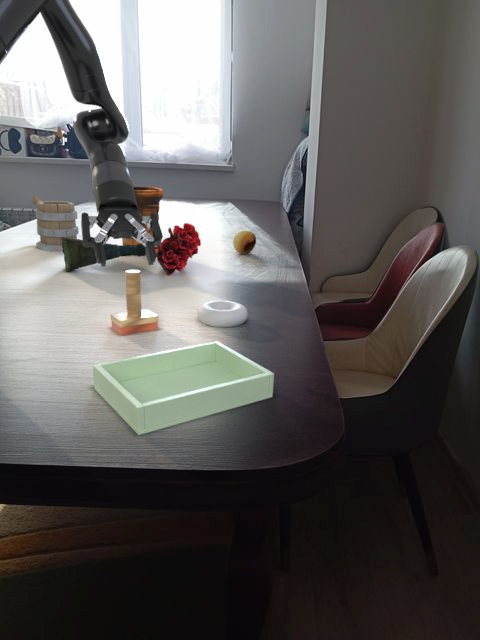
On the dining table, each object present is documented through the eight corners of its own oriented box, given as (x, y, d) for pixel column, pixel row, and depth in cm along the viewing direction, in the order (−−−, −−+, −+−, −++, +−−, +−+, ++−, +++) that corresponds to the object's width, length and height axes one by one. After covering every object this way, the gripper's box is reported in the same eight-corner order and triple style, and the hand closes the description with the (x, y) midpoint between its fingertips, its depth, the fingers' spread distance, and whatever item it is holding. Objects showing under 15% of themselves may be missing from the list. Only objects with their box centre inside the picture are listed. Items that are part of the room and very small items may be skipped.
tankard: (88, 248, 165) (84, 200, 160) (50, 252, 156) (45, 201, 151) (56, 240, 177) (52, 194, 172) (20, 243, 168) (14, 195, 163)
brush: (121, 337, 90) (118, 275, 86) (111, 329, 94) (107, 270, 90) (158, 331, 94) (157, 272, 90) (147, 324, 98) (146, 267, 94)
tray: (138, 437, 59) (137, 408, 58) (94, 390, 70) (92, 364, 69) (272, 398, 71) (274, 373, 69) (216, 363, 81) (217, 340, 80)
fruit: (256, 253, 174) (257, 229, 171) (253, 257, 166) (255, 232, 163) (234, 251, 174) (235, 227, 171) (230, 256, 166) (231, 231, 164)
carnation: (69, 301, 136) (198, 288, 147) (63, 267, 119) (209, 256, 131) (62, 249, 141) (188, 241, 152) (55, 209, 124) (197, 203, 135)
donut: (251, 330, 98) (242, 313, 107) (252, 312, 97) (243, 297, 106) (199, 331, 96) (194, 314, 105) (199, 313, 95) (194, 298, 104)
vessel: (148, 259, 155) (146, 190, 148) (108, 254, 159) (104, 186, 152) (172, 252, 167) (171, 188, 160) (134, 247, 172) (132, 185, 165)
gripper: (75, 177, 93) (88, 252, 87) (153, 179, 98) (170, 250, 93) (74, 204, 99) (86, 276, 93) (148, 205, 105) (163, 272, 99)
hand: (128, 263), depth 93 cm, fingers open, 8 cm apart
